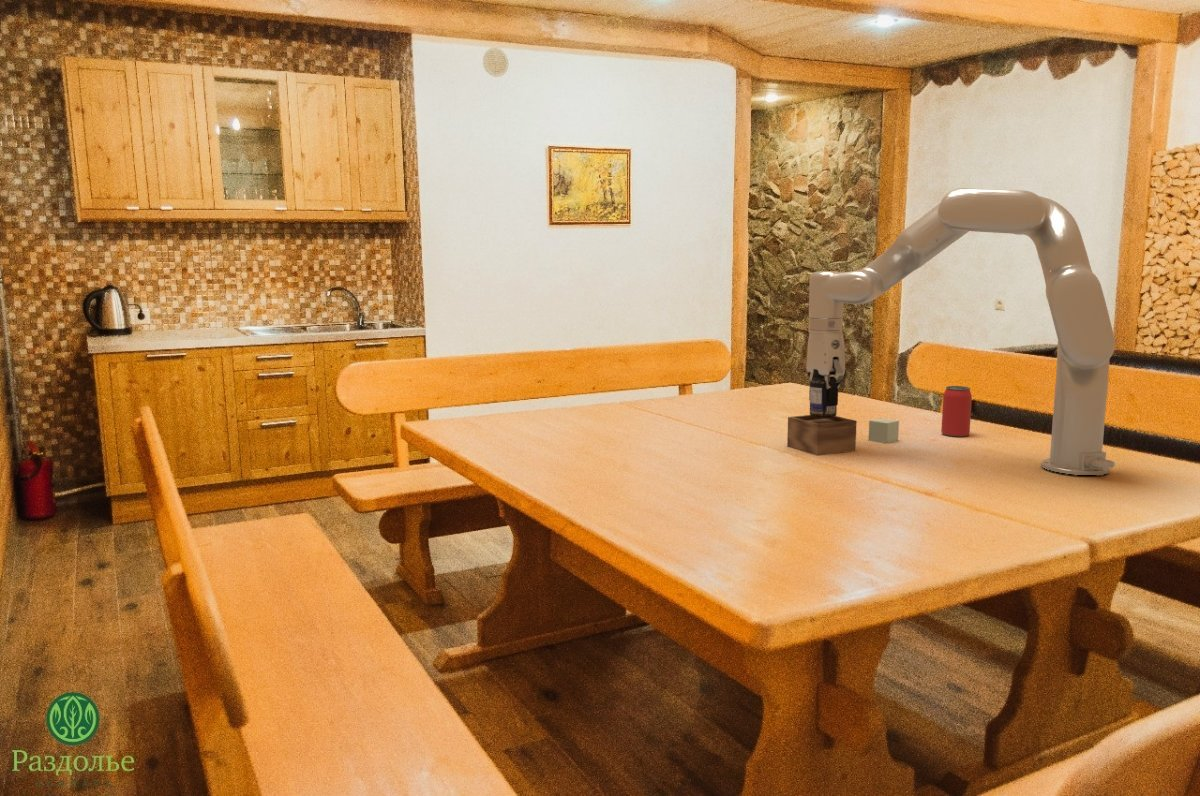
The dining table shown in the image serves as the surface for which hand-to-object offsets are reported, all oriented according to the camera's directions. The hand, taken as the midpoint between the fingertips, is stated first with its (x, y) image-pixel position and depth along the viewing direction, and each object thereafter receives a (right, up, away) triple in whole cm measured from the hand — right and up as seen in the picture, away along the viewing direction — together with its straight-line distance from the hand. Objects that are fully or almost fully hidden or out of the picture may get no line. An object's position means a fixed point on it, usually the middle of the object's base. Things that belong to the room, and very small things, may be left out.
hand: (823, 402), depth 207 cm
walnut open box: (0, -11, +2) cm, 11 cm away
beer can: (+37, -8, +17) cm, 42 cm away
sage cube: (+17, -9, +10) cm, 22 cm away
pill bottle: (0, -3, 0) cm, 3 cm away
